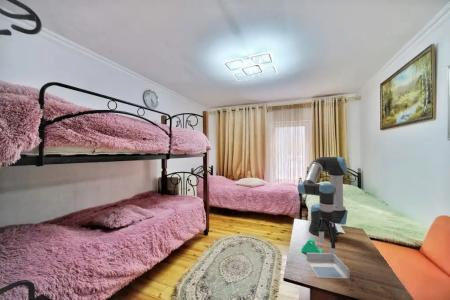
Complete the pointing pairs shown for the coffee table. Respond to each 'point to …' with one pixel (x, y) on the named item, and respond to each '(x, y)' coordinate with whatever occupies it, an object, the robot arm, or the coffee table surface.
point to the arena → (328, 265)
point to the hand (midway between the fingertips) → (326, 247)
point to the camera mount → (310, 247)
